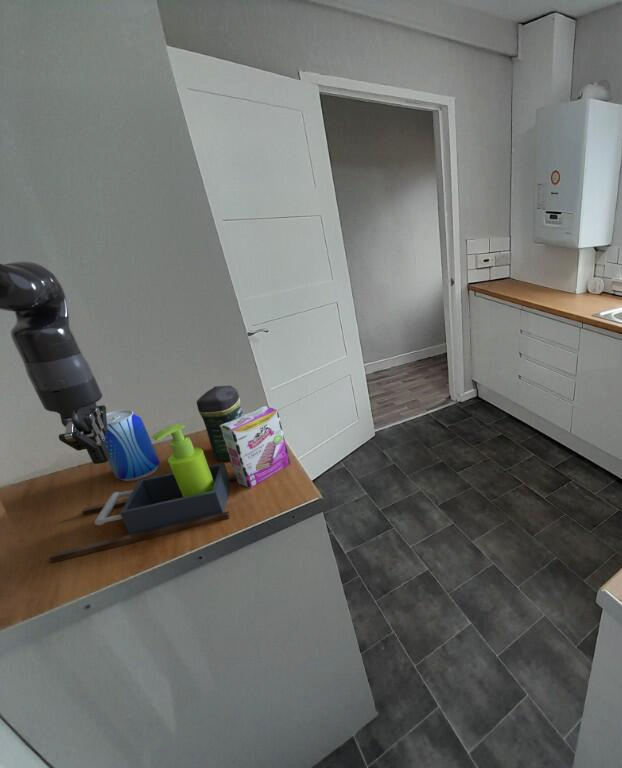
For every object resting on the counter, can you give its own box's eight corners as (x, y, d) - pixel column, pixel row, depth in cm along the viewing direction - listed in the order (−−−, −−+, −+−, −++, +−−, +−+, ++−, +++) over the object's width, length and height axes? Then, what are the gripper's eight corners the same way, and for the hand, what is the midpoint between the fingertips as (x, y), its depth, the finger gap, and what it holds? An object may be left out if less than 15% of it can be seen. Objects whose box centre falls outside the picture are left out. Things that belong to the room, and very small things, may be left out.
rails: (51, 562, 76) (48, 557, 75) (86, 512, 88) (83, 507, 87) (229, 519, 87) (227, 514, 86) (238, 479, 99) (236, 475, 98)
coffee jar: (245, 461, 106) (225, 398, 98) (211, 465, 104) (187, 401, 96) (258, 441, 114) (240, 381, 106) (226, 444, 113) (206, 384, 105)
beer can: (112, 475, 99) (84, 418, 93) (154, 458, 106) (131, 404, 99) (124, 488, 95) (95, 430, 88) (167, 470, 101) (143, 414, 95)
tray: (100, 544, 79) (87, 520, 77) (121, 507, 89) (111, 485, 86) (223, 514, 87) (215, 492, 85) (231, 483, 97) (224, 462, 95)
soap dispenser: (176, 511, 88) (142, 433, 80) (208, 492, 94) (180, 417, 86) (195, 519, 86) (162, 439, 78) (226, 498, 92) (198, 422, 84)
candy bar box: (251, 490, 95) (231, 431, 88) (237, 484, 97) (217, 425, 90) (293, 465, 104) (278, 409, 98) (279, 459, 106) (264, 404, 99)
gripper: (54, 370, 76) (91, 448, 83) (13, 398, 65) (60, 485, 72) (106, 364, 79) (138, 440, 86) (75, 390, 68) (114, 475, 75)
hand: (102, 461), depth 79 cm, fingers closed
